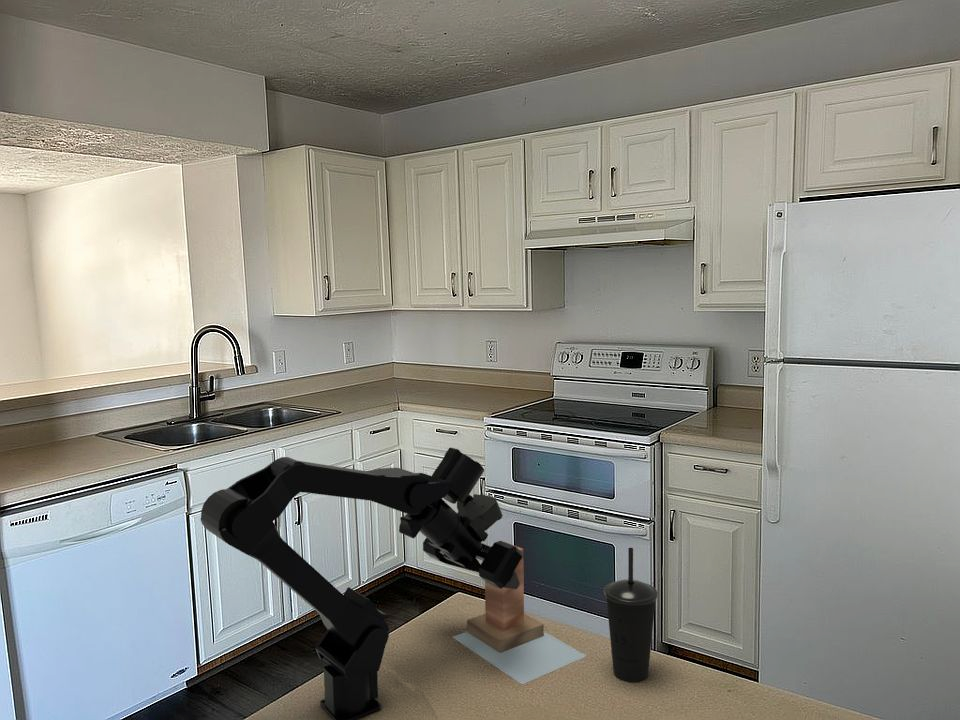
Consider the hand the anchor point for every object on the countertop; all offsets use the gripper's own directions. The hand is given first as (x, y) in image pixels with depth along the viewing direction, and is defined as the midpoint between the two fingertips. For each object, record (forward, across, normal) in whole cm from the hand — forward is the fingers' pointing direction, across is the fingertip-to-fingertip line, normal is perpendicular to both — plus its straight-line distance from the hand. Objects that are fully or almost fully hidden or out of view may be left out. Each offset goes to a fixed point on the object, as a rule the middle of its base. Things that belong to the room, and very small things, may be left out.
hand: (498, 577), depth 117 cm
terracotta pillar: (+6, 0, +5) cm, 8 cm away
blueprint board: (+8, -4, +8) cm, 12 cm away
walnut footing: (+8, 0, +6) cm, 10 cm away
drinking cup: (+13, -22, +3) cm, 25 cm away
